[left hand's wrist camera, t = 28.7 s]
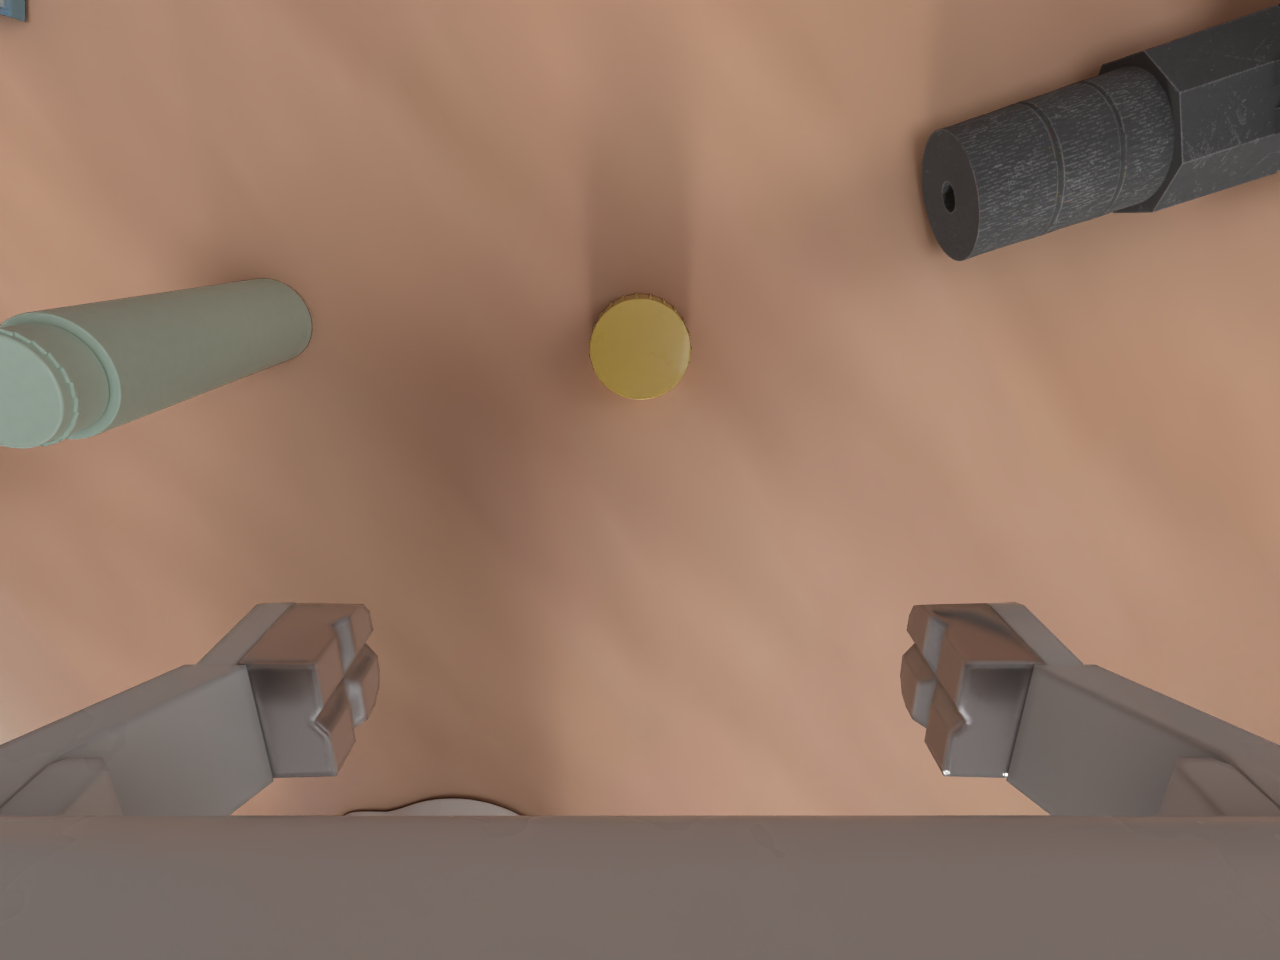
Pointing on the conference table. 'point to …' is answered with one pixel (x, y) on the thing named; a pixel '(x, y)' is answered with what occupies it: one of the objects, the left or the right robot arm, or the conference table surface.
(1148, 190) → the laser sight
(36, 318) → the jar
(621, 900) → the left robot arm
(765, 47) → the conference table surface
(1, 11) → the book
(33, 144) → the conference table surface
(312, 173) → the conference table surface
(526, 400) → the conference table surface
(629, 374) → the lid
